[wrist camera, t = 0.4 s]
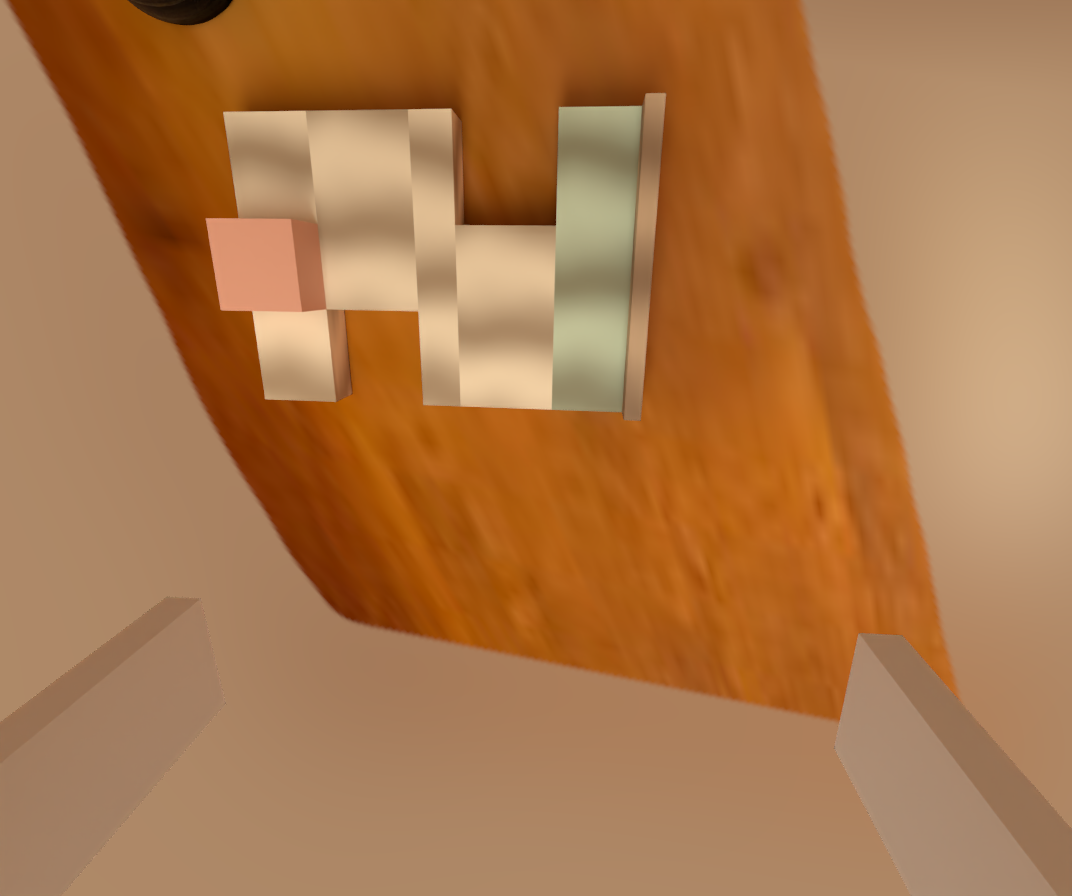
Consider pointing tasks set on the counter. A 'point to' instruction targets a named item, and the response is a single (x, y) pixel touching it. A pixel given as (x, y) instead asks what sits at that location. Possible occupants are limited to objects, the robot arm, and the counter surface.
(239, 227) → the block
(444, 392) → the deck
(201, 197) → the counter surface
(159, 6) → the container
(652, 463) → the counter surface
